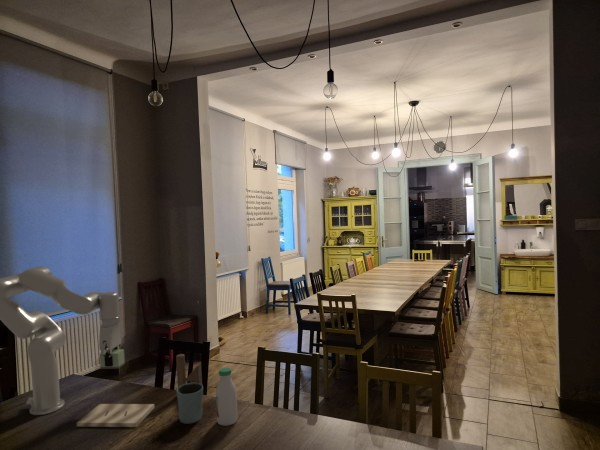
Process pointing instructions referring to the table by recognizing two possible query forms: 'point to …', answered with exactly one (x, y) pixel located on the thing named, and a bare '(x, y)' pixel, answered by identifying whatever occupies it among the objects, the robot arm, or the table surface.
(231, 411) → the milk bottle
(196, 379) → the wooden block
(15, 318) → the robot arm
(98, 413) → the birch board
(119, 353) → the block
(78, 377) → the table surface
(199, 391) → the blue cup
